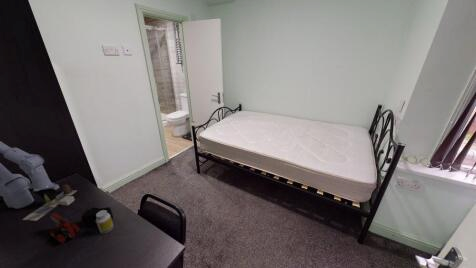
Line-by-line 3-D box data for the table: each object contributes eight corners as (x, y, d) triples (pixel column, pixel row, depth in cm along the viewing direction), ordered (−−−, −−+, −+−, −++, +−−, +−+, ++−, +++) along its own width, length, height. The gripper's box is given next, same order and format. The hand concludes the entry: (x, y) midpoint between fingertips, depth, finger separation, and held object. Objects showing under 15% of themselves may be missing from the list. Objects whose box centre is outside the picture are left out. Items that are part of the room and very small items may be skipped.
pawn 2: (61, 194, 102) (58, 186, 100) (68, 190, 105) (64, 182, 103) (68, 194, 102) (64, 187, 99) (74, 190, 105) (70, 182, 103)
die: (61, 207, 95) (58, 201, 93) (68, 201, 99) (66, 195, 97) (68, 207, 95) (66, 201, 93) (75, 201, 98) (73, 196, 97)
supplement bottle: (116, 225, 84) (111, 210, 81) (106, 235, 79) (100, 219, 76) (107, 222, 86) (102, 207, 82) (97, 232, 81) (90, 216, 77)
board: (22, 221, 86) (21, 219, 85) (66, 191, 106) (65, 189, 106) (37, 222, 85) (36, 220, 85) (78, 191, 106) (77, 190, 105)
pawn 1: (43, 202, 93) (39, 194, 91) (51, 197, 96) (47, 189, 94) (50, 203, 93) (45, 195, 90) (57, 198, 96) (53, 190, 94)
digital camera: (114, 215, 90) (111, 205, 87) (109, 224, 85) (105, 213, 82) (92, 218, 88) (87, 207, 85) (85, 227, 83) (80, 216, 80)
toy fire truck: (65, 246, 74) (55, 229, 71) (50, 236, 79) (40, 219, 75) (83, 233, 80) (76, 216, 76) (68, 224, 85) (60, 207, 81)
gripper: (16, 182, 86) (29, 203, 91) (44, 183, 85) (55, 205, 90) (33, 174, 92) (44, 194, 97) (59, 175, 91) (68, 195, 97)
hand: (50, 198), depth 94 cm, fingers closed on pawn 1, 3 cm apart
